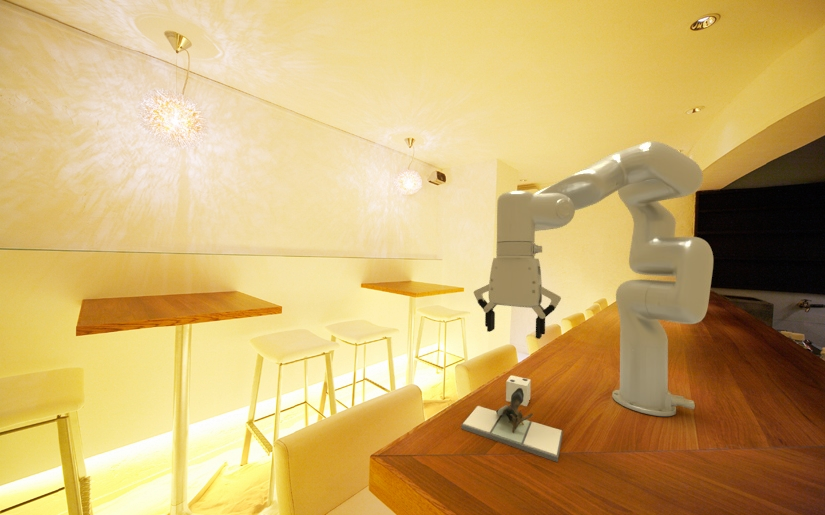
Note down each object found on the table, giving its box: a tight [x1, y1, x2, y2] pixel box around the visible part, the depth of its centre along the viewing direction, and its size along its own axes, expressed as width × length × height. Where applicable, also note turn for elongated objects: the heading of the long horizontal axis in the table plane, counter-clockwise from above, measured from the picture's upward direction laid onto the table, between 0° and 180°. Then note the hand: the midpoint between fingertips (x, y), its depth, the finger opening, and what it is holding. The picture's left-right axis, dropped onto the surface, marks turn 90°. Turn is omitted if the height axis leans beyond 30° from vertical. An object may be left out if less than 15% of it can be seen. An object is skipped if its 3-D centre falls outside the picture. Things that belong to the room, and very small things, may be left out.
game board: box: [460, 405, 564, 463], centre depth 60 cm, size 18×10×1 cm, turn 58°
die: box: [505, 375, 532, 407], centre depth 74 cm, size 5×5×5 cm
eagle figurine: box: [495, 388, 534, 433], centre depth 61 cm, size 8×7×9 cm
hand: (513, 333), depth 60 cm, fingers open, 9 cm apart
